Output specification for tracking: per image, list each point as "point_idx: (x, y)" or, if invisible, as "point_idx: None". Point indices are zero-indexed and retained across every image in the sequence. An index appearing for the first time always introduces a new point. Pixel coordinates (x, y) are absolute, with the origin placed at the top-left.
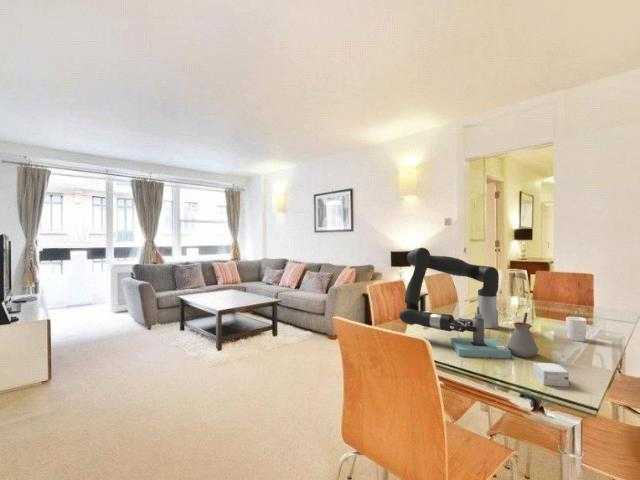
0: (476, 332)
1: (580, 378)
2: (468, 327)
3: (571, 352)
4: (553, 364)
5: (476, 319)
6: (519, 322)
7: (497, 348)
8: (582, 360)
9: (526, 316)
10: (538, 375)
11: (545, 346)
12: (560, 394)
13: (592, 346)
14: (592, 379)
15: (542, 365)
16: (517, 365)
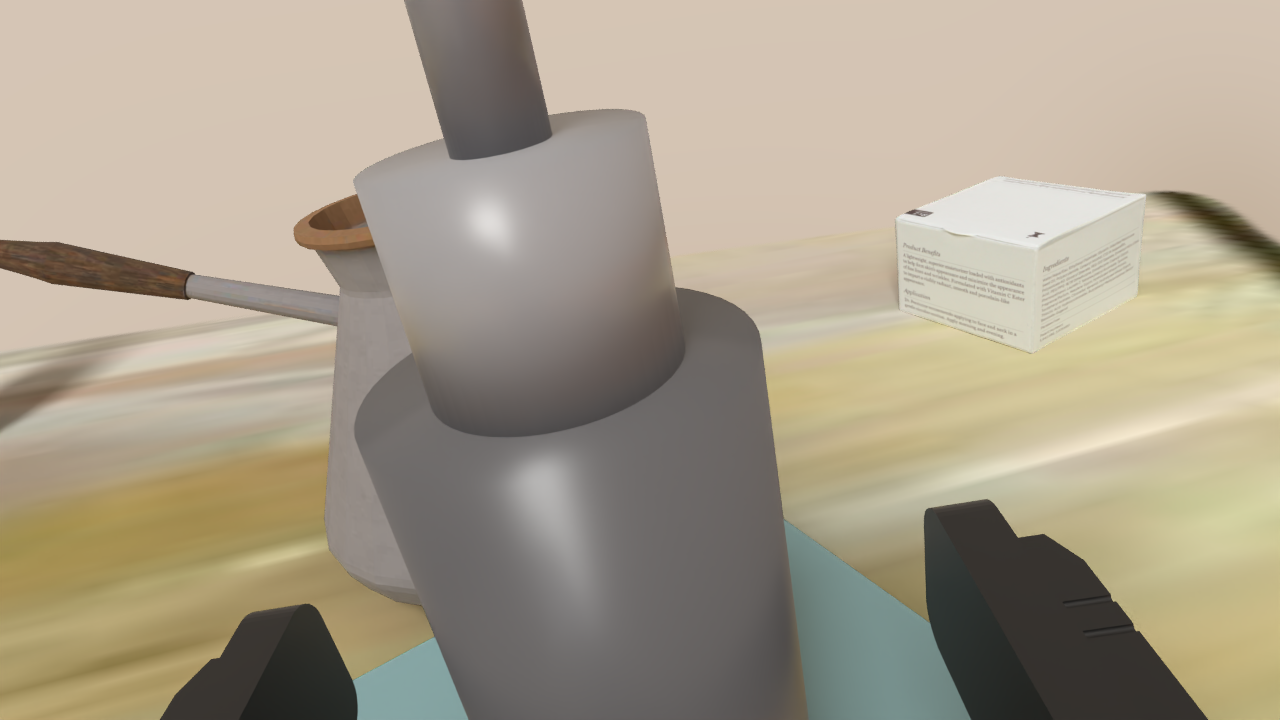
0: (804, 703)
1: (802, 277)
2: (1175, 688)
3: (292, 393)
4: (940, 213)
5: (686, 358)
6: (308, 226)
7: None
8: None
9: (9, 244)
10: (1096, 284)
11: (161, 503)
12: (1172, 245)
13: (117, 380)
14: (768, 262)
15: (1041, 218)
16: (906, 463)
